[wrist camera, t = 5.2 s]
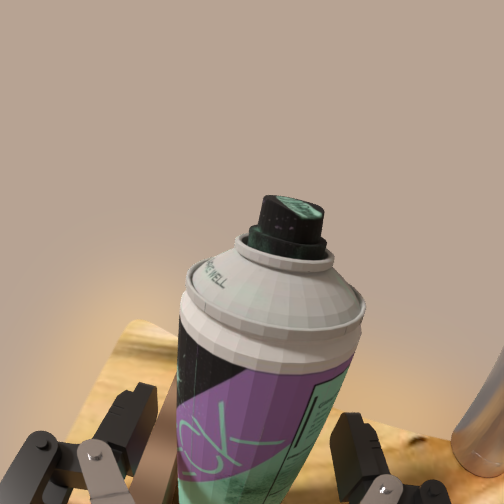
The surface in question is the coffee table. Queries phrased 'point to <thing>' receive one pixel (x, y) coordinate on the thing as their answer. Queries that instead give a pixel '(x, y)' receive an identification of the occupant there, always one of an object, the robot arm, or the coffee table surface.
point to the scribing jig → (159, 458)
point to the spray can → (261, 357)
